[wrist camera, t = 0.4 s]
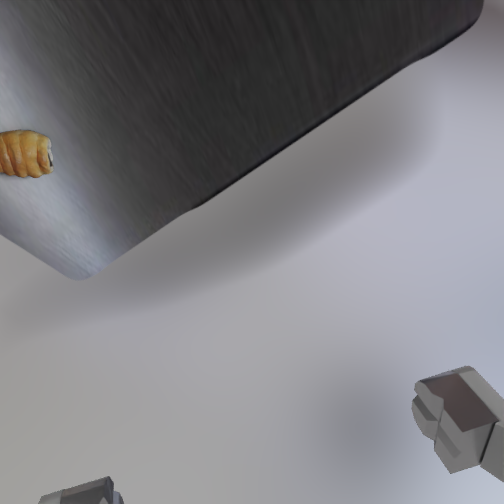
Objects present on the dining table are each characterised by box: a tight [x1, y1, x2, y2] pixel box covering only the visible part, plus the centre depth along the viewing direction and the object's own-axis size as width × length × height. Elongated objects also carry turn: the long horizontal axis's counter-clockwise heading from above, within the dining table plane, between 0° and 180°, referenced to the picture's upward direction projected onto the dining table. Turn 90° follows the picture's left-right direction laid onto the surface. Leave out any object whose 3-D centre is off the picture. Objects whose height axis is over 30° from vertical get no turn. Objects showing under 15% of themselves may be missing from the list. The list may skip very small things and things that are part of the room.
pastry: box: [0, 130, 54, 178], centre depth 55 cm, size 9×7×4 cm
